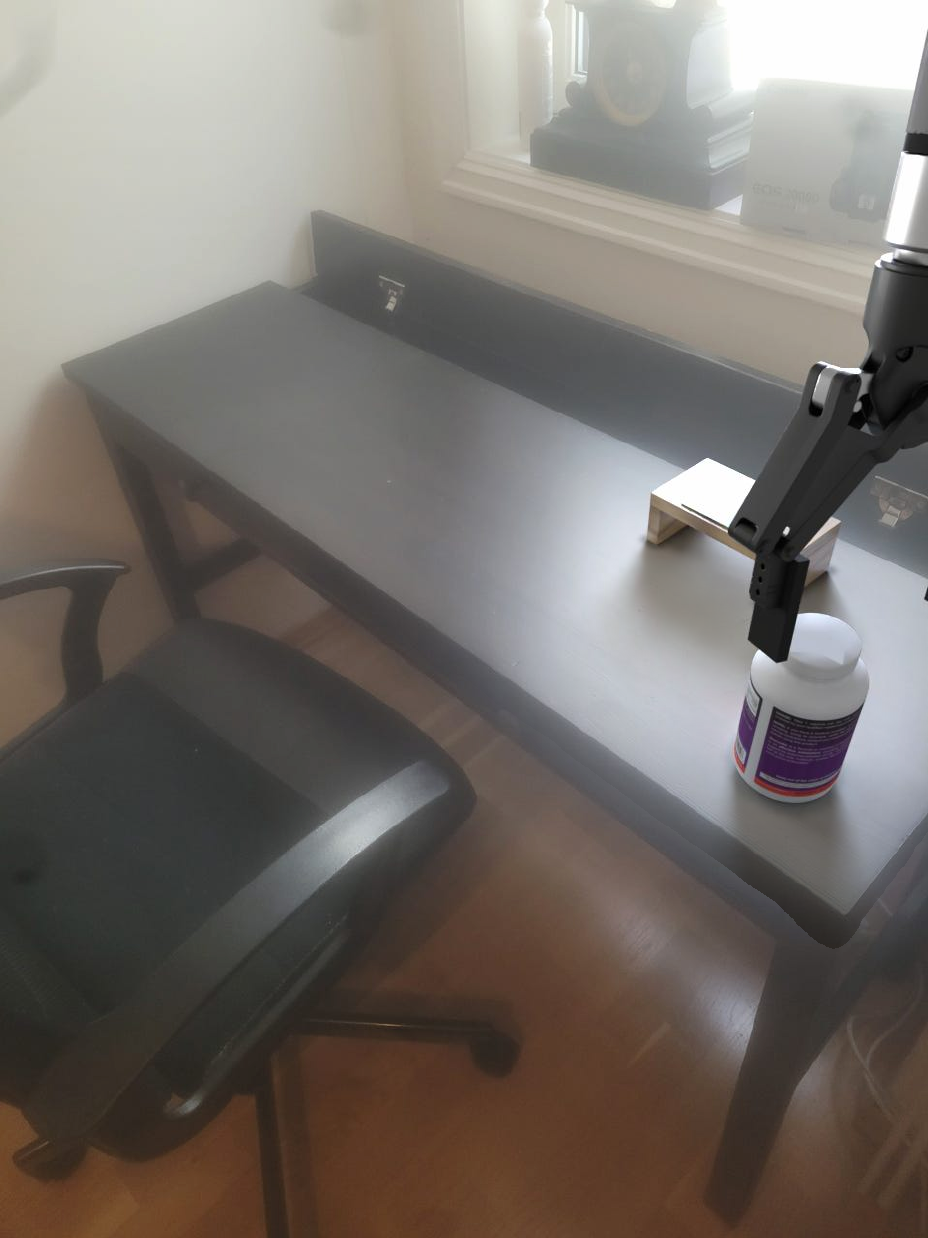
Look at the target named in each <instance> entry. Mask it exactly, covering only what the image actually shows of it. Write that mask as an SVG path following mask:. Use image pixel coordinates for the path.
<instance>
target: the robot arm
mask: <svg viewBox="0 0 928 1238" xmlns="http://www.w3.org/2000/svg"><path fill="white" fill-rule="evenodd" d="M910 105H911V106H910V109H909V114H908V118H907V119H908V120H907V124H906V128H905V133H906V134H905V137H904V141H903V146H902V151H903V152H901V154H900V156H899V161H898V166H897V169H896V174H895V179H894V183H893V188H892V191H891V195H890V201H889V206H888V208H887V213H886V218H885V222H884V227H883V231H882V234H881V240H883V241H884V242H885V243H886V244H887V246H889V247H892V252H889V253H885V254H882V255H881V257H880V259H878V260H876V261H875V263H874V267H873V272H872V276H871V280H870V285H869V288H868V293H867V298H866V301H865V302H866V303H865V306H864V310H863V311H864V312H863V315H862V320H861V323H862V328H863V329H864V331H865V334H866V336H867V339H868V348H867V351H866V353H865V356H864V358H863V360H862V362H861V363H860V365H859V366H858V367H857V368H841V367H838V366H835V365H832V364H829V363H826V362H824V361H818V362H816V363H814V364H813V365H812V366H811V367H810V369H809V371H808V373H807V375H806V380H805V383H804V386H803V390H802V393H801V397H800V400H799V403H798V407H797V408H796V410H795V411H794V414H793V415H792V417H791V419H790V420H789V422H788V424H787V425H786V427H785V429H784V431H783V432H782V435H781V436H780V437H779V439H778V441H777V443H776V444H775V446H774V448H773V449H772V451H771V453H770V454H769V457H768V458H767V460H766V461H765V463H764V464H763V466H762V468H761V470H760V472H759V473H758V475H757V477H756V478H755V482H754V484H753V485H752V487H751V489H750V491H749V492H748V494H747V496H746V497H745V499H744V501H743V503H742V504H741V506H740V508H739V509H738V511H737V513H736V515H735V516H734V518H733V520H732V521H731V523H730V525H729V527H728V535H729V536H730V537H731V538H733V539H734V540H736V541H737V542H738V543H740V544H741V545H743V546H744V547H746V548H747V549H749V550H750V551H752V552H753V553H755V554H756V558H755V561H754V563H753V569H752V573H751V576H752V577H751V579H750V584H749V590H748V594H749V599H750V600H751V601H752V602H753V603H754V604H753V608H752V609H753V610H752V615H751V620H750V625H749V629H748V635H747V641H748V642H749V643H751V645H752V646H754V647H756V649H758V650H761V651H762V652H763V653H764V654H765V655H767V656H768V657H769V658H770V659H772V660H773V661H774V662H775V663H780V662H784V661H787V659H788V655H789V651H790V646H791V642H792V638H793V633H794V629H795V625H796V620H797V616H798V615H799V611H800V607H801V602H802V598H803V595H804V590H805V588H804V585H805V581H806V577H807V572H808V568H809V563H810V560H809V559H808V558H806V557H804V556H803V555H801V554H800V552H801V551H802V550H803V549H804V548H805V547H806V545H807V544H808V543H809V542H810V541H811V540H812V538H813V537H814V536H815V535H816V534H817V533H818V531H819V530H820V529H821V528H822V527H823V526H824V525H825V523H826V522H827V521H828V520H829V519H830V518H831V517H833V515H834V514H836V512H837V511H838V510H839V508H841V506H842V505H843V504H844V503H845V502H846V500H847V499H848V498H849V497H850V496H851V495H852V493H853V492H854V491H855V490H857V488H858V486H859V485H860V484H861V483H862V482H863V481H864V479H865V478H867V476H868V475H869V474H870V473H871V471H872V470H873V469H874V468H875V467H876V466H878V465H879V464H884V463H887V462H889V461H891V460H892V459H893V458H894V456H895V455H897V453H898V452H899V450H909V449H915V448H917V447H919V446H921V445H924V444H926V443H928V29H927V31H926V35H925V40H924V45H923V50H922V54H921V59H920V63H919V68H918V73H917V77H916V82H915V87H914V91H913V96H912V101H911V104H910ZM865 425H866V426H867V428H868V431H869V432H870V434H869V433H868V432H865V431H862V429H863V427H864V426H865ZM786 527H789V532H788V534H787V535H785V534H784V533H783V532H784V530H785V528H786ZM923 597H924V598H923V600H924V601H926V602H928V586H927V588H926V591H925V594H924V596H923Z"/></svg>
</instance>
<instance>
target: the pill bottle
mask: <svg viewBox="0 0 928 1238" xmlns="http://www.w3.org/2000/svg"><path fill="white" fill-rule="evenodd" d="M861 653H862V641H861V639H860V636H859V635H858V633H857V631H855V629H854V628H852V627H851V626H850V625H849V624H848V623H846V622H845V621H843V620H841V619H839V618H837V617H834V616H832V615H828V614H824V613H818V612H817V613H816V612H807V613H806V612H804V613H798V616H797V620H796V625H795V629H794V633H793V638H792V642H791V646H790V651H789V655H788V659H787V661H784V662H780V663H775V662H774V661H773V660H772V659H770V658H769V657H768V656H767V655H765V654H764V653H763V652H762V651H761V650H759V649H758V650H757V651H756V653H755V655H754V657H753V659H752V662H751V666H750V671H749V677H748V680H747V684H746V690H745V695H744V698H743V704H742V708H741V713H740V716H739V717H740V718H739V722H738V726H737V731H736V734H735V735H736V736H735V741H734V744H733V752H732V753H733V754H732V755H733V761H734V765H735V768H736V770H737V772H738V773H739V775H740V776H741V777H740V778H742V779H743V780H744V782H745V783H746V784H747V785H748V786H749V787H751V788H752V789H753V790H754V791H756V792H757V793H759V794H760V795H763V796H765V797H767V798H769V799H772V800H774V801H778V802H783V803H788V804H789V803H790V804H802V803H807V802H812V801H815V800H817V799H819V798H821V797H823V796H824V795H826V794H827V793H828V792H829V791H830V790H831V789H832V788H833V787H834V785H835V784H836V783H837V781H838V778H839V776H840V773H841V771H842V767H843V764H844V762H845V759H846V756H847V754H848V750H849V748H850V744H851V742H852V740H853V736H854V733H855V730H856V727H857V725H858V723H859V719H860V716H861V714H862V711H863V709H864V708H863V707H864V705H865V703H866V700H867V697H868V693H869V690H870V676H869V672H868V669H867V667H866V665H865V663H864V661H863V660H862V658H861V657H860V656H861Z"/></svg>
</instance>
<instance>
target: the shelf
mask: <svg viewBox="0 0 928 1238" xmlns="http://www.w3.org/2000/svg"><path fill="white" fill-rule="evenodd" d="M755 480H756V479H755ZM755 480H754V479H753V478H750V477H748V476H746V475H744V474H742V473H740V472H739V471H736V470H734V469H732V468H729V467H727V466H725V465H723V464H721V463H719V462H717V461H714V460H713V459H711V458H708V457H707V458H705V459H703V460H702V461H700V462H698V463H697V464H695V465H694V466H692V467H690V468H689V469H687V470H686V471H685V470H684V471H683V472H682V473H680V474H678V475H677V476H675V477H674V478H672V479H671V480H670V481H667V482H665V483H664V484H662V485H661V486H659V487H658V488H656V489H654V490H653V491H651V492H650V498H649V509H648V520H647V530H646V540H648V541H649V542H651V543H653V544H655V545H659V544H660V543H662V542H664V541H665V540H667V539H668V538H670V537H671V536H673V535H674V534H677V532H679V531H680V530H682V529H684V528H685V527H687V526H689V527H691V528H693V529H695V530H696V531H698V532H700V533H703V534H704V535H706V536H708V537H710V538H711V539H713V540H715V541H717V542H719V543H721V544H723V545H725V546H727V547H728V548H730V549H732V550H734V551H735V552H738V553H739V554H741V555H743V556H745V557H747V558H749V559H750V560H753V561H754V562H755V558H756V554H755V553H753V552H752V551H750V550H749V549H747V548H746V547H744V546H743V545H741V544H740V543H738V542H737V541H736V540H734V539H733V538H731V537H730V536H729V535H728V527H729V525H730V523H731V521H732V520H733V518H734V516H735V515H736V513H737V511H738V509H739V508H740V506H741V504H742V503H743V501H744V499H745V497H746V496H747V494H748V492H749V491H750V489H751V487H752V485H753V484H754V482H755ZM841 525H842V520H840V519H838V518H835V517H833V516H831V518H830V519H829V520H828V521H827V522H826V523H825V525H824V526H823V527H822V528H821V529H820V530H819V531H818V533H817V534H816V535H815V536H814V537H813V538H812V540H811V541H810V542H809V543H808V544H807V545H806V547H805V548H804V549H803V550H802V551H801V552H800V554H801V555H803V556H804V557H806V558H808V559H809V560H810V563H809V568H808V572H807V577H806V581H805V585H804V589H805V588H806V587H807V586H808V585H810V584H812V582H814V581H815V580H816V579H818V578H819V577H820V576H822V575H823V574H824V573H826V572H827V571H828V570H829V568H830V564H831V561H832V556H833V555H834V554H833V553H834V550H835V546H836V543H837V539H838V536H839V533H840V529H841ZM788 532H789V527H786V528H785V530H784V532H783V533H784V534H785V535H787V534H788Z"/></svg>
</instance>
